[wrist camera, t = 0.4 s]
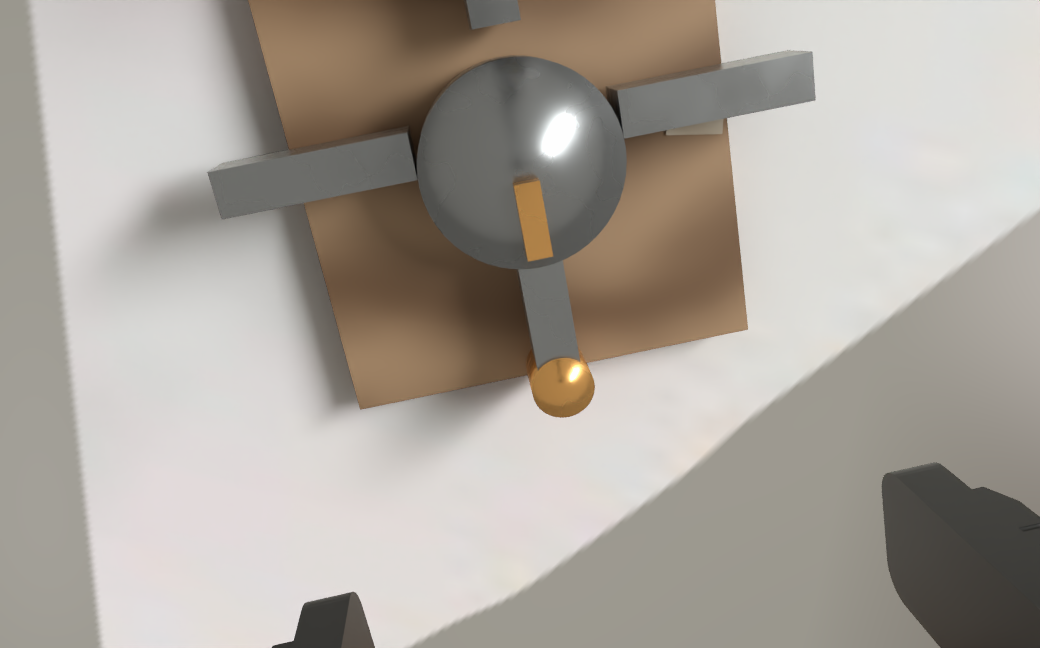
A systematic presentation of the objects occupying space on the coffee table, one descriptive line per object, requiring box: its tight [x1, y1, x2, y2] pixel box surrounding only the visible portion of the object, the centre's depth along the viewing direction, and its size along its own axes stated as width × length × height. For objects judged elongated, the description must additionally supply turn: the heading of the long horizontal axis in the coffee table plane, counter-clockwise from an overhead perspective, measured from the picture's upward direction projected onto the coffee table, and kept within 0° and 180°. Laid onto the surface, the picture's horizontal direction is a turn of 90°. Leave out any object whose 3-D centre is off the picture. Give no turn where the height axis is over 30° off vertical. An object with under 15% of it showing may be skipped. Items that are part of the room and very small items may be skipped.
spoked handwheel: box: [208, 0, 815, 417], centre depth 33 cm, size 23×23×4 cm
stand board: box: [248, 0, 748, 410], centre depth 36 cm, size 22×18×2 cm
